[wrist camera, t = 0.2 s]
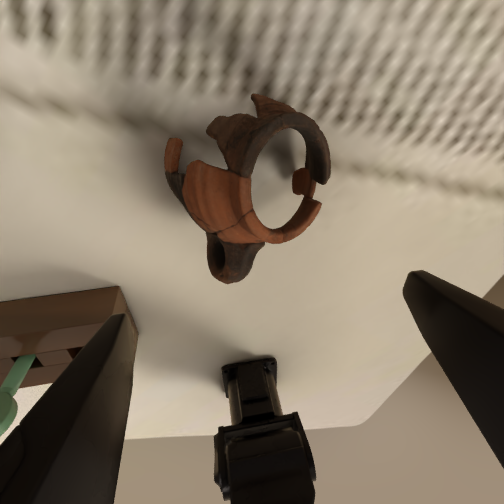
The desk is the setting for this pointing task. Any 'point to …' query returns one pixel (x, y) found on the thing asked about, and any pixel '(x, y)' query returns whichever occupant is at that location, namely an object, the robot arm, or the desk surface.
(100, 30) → the desk surface
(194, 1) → the desk surface
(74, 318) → the holder
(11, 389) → the spoon
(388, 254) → the desk surface
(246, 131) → the pottery mug
